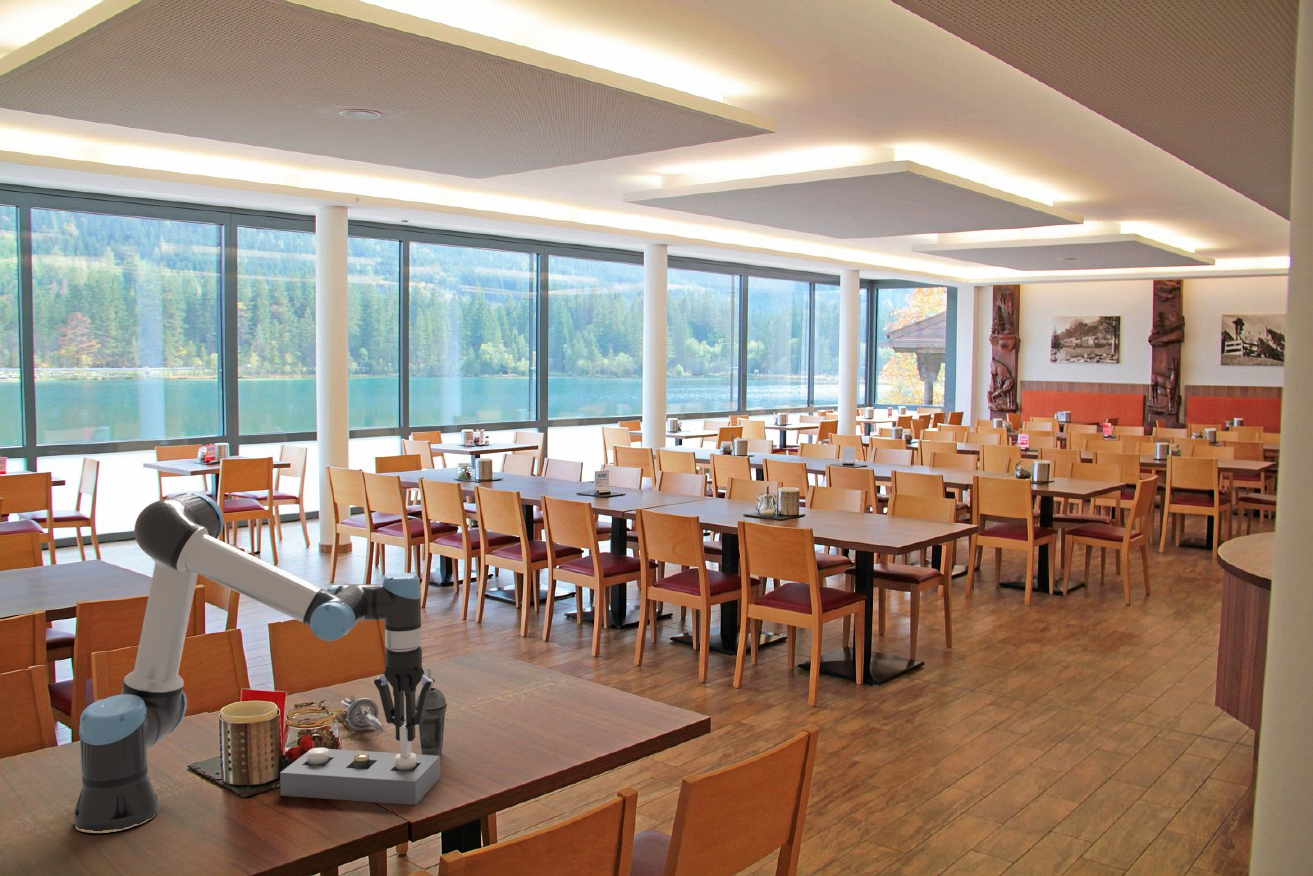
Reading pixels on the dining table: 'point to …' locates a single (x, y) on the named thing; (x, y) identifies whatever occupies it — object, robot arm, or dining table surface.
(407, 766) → the right knob
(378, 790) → the console
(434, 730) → the beverage cup
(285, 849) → the dining table surface
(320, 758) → the left knob
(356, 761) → the pot knob
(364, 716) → the spaceship
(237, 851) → the dining table surface
